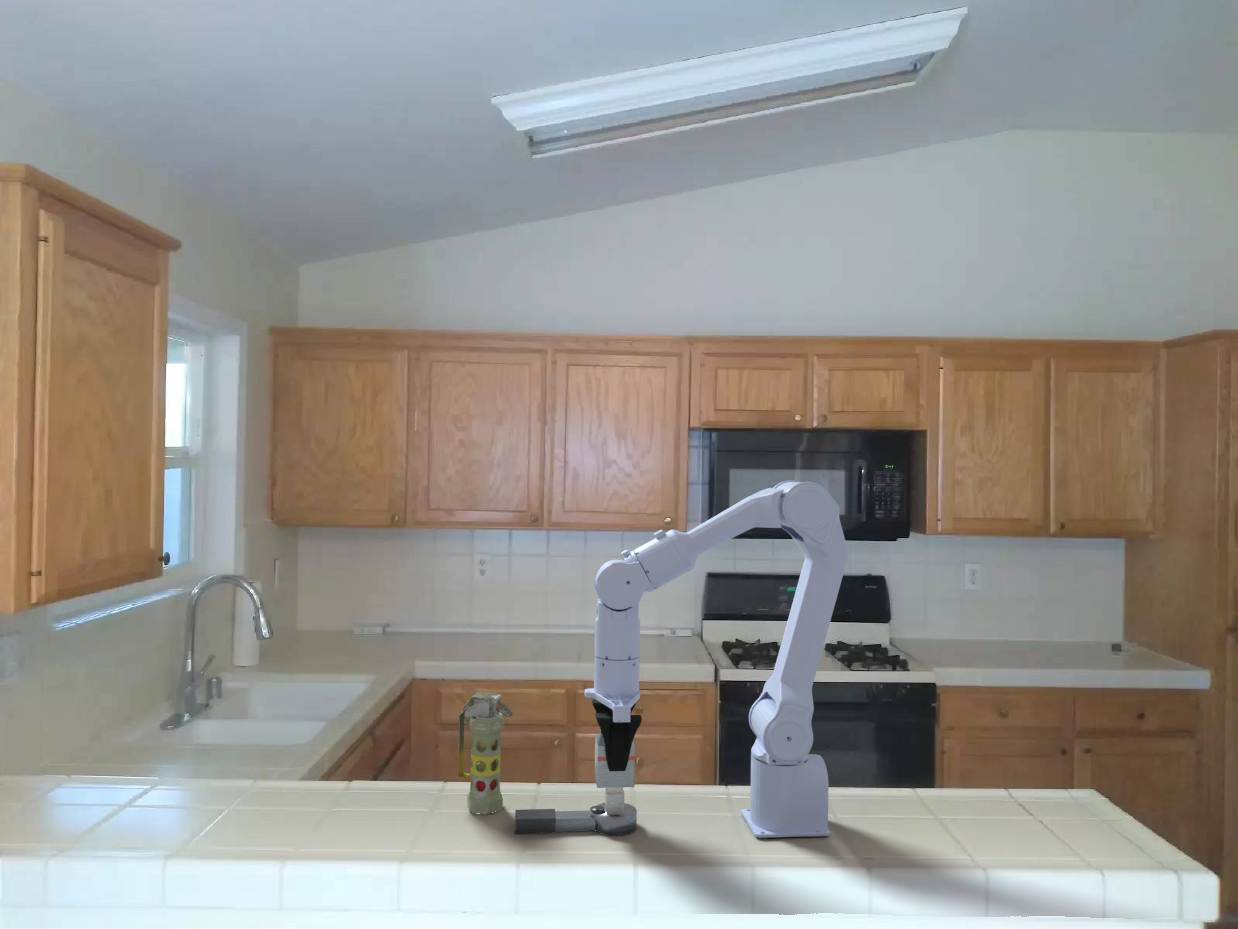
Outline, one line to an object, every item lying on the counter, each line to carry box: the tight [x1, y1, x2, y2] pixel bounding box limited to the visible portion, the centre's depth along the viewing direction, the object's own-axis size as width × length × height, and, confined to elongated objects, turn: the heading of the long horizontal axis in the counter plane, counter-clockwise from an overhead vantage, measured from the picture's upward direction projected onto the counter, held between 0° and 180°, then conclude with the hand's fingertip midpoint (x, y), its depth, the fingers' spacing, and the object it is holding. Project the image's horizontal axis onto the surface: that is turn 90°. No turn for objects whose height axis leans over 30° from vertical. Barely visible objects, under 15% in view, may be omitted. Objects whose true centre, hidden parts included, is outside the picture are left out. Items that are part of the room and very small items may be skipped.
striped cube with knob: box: [594, 733, 636, 789], centre depth 109 cm, size 5×5×6 cm
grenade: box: [457, 691, 514, 815], centre depth 115 cm, size 6×7×15 cm
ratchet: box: [514, 787, 638, 837], centre depth 109 cm, size 15×6×4 cm, turn 96°
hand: (615, 763), depth 109 cm, fingers closed on striped cube with knob, 5 cm apart
